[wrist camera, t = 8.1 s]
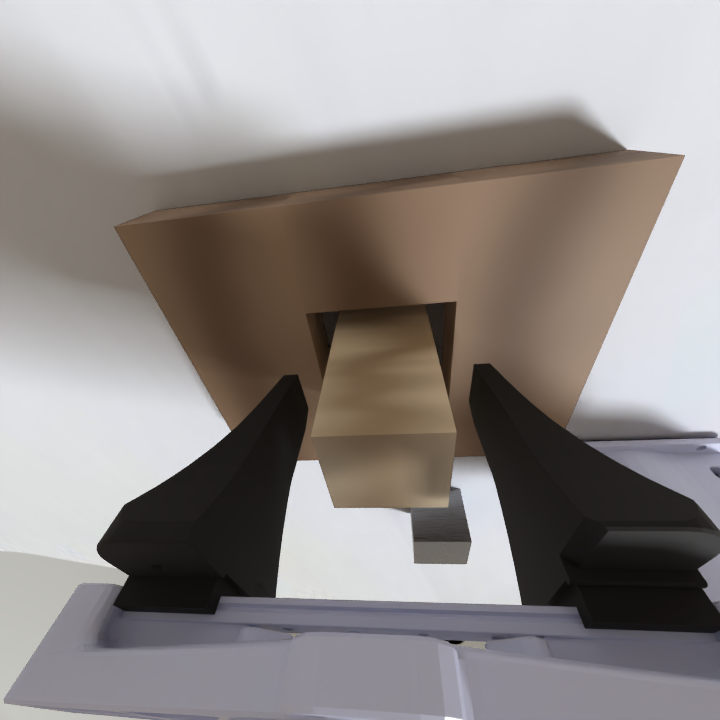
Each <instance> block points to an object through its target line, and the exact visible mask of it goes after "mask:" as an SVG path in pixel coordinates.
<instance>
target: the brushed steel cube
mask: <svg viewBox="0 0 720 720" xmlns="http://www.w3.org/2000/svg"><path fill="white" fill-rule="evenodd" d="M410 514H411V526H412V539H413V552H414V563H417V564H467V560H468V555H469V551H470V547H471V537H470V533H469V528H468V524H467V519H466V514H465V510H464V505H463V501H462V496H461V491H460V489H450V495H449V504H448V507H436V508H410Z"/></svg>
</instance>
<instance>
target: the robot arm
mask: <svg viewBox="0 0 720 720" xmlns="http://www.w3.org/2000/svg"><path fill="white" fill-rule="evenodd" d="M469 404H470V409H471V414H472V418H473V422H474V426H475V428H476V431H477V434H478V437H479V440H480V442H481V445H482V448H483V450H484V453H485V456H486V459H487V461H488V464H489V467H490V470H491V472H492V475H493V478H494V482H495V485H496V489H497V493H498V496H499V500H500V504H501V508H502V512H503V517H504V521H505V525H506V529H507V534H508V538H509V543H510V547H511V552H512V557H513V561H514V566H515V571H516V576H517V581H518V586H519V591H520V596H521V602H522V605H494V604H461V603H427V602H394V601H360V600H327V599H294V598H276V587H277V577H278V567H279V558H280V550H281V542H282V534H283V528H284V521H285V514H286V508H287V502H288V496H289V491H290V485H291V481H292V477H293V473H294V470H295V466H296V463H297V459H298V456H299V452H300V448H301V445H302V441H303V438H304V434H305V430H306V424H307V417H308V409H309V408H308V405H307V402H306V398H305V395H304V392H303V389H302V386H301V383H300V380H299V376H298V374H296V375H284V376H283V377H282V378H281V379H280V380H279V381H278V382H277V384H276V385H275V386H274V387H273V388H272V389H271V390H270V392H269V393H268V394H267V395H266V396H265V397H264V398H263V400H262V401H261V402H260V403H259V404H258V405H257V406H256V407H255V408H254V409H253V410H252V411H251V412H250V413H249V415H248V416H247V417H246V418H245V419H244V420H243V421H242V422H241V423H240V424H239V425H238V426H237V427H236V428H234V429H233V430H232V431H231V432H230V433H229V434H228V435H227V436H226V437H224V438H223V439H222V440H221V441H220V442H219V443H217V444H216V445H215V446H214V447H213V448H211V449H210V450H209V451H207V452H206V453H205V454H203V455H202V456H201V457H199V458H198V459H197V460H195V461H194V462H193V463H191V464H190V465H189V466H187V467H186V468H184V469H183V470H181V471H180V472H178V473H177V474H175V475H174V476H172V477H171V478H169V479H168V480H166V481H165V482H163V483H161V484H160V485H158V486H156V487H155V488H153V489H151V490H149V491H148V492H146V493H144V494H143V495H141V496H139V497H137V498H136V499H134V500H132V501H130V502H128V503H127V504H125V505H124V506H123V508H122V509H121V511H120V512H119V513H118V515H117V516H116V518H115V519H114V521H113V522H112V524H111V525H110V527H109V528H108V530H107V531H106V533H105V534H104V536H103V537H102V539H101V540H100V542H99V543H98V545H97V552H98V554H99V555H100V557H102V558H103V559H104V560H105V561H107V562H108V563H110V564H112V565H113V566H115V567H116V568H118V569H120V570H121V571H123V572H124V573H126V574H127V575H129V577H128V579H127V581H126V583H125V584H124V586H120V585H116V584H101V583H82V584H80V585H78V587H77V588H76V590H75V591H74V593H73V594H72V596H71V598H70V599H69V601H68V602H67V604H66V605H65V607H64V608H63V610H62V611H61V613H60V614H59V616H58V617H57V619H56V620H55V622H54V624H53V625H52V626H51V628H50V629H49V631H48V632H47V634H46V635H45V637H44V639H43V640H42V642H41V643H40V645H39V646H38V648H37V649H36V651H35V652H34V654H33V655H32V657H31V658H30V660H29V661H28V663H27V664H26V666H25V668H24V669H23V670H22V672H21V674H20V675H19V677H18V678H17V680H16V681H15V683H14V684H13V686H12V687H11V689H10V690H9V692H8V693H7V695H6V696H5V698H4V703H6V704H13V705H21V706H28V707H36V708H42V709H50V710H57V711H64V712H72V713H83V714H95V715H108V716H118V717H130V718H141V719H151V720H720V438H700V439H665V440H630V441H594V442H583V441H582V440H580V439H579V438H577V437H576V436H574V435H573V434H571V433H570V432H568V431H567V430H566V429H564V428H563V427H561V426H560V425H559V424H557V423H556V422H554V421H553V420H552V419H551V418H549V417H548V416H547V415H546V414H544V413H543V412H542V411H541V410H539V409H538V408H537V407H536V406H535V405H533V404H532V403H531V402H530V401H529V400H528V399H527V398H526V397H524V396H523V395H522V394H521V393H520V392H519V391H518V390H517V389H516V388H515V387H514V386H513V385H512V384H511V383H509V382H508V381H507V380H506V379H505V378H504V377H503V376H502V375H501V374H500V373H499V372H498V371H497V370H496V369H495V368H494V367H493V366H492V365H491V364H490V363H485V364H474V366H473V373H472V381H471V388H470V396H469ZM289 633H302V634H299V635H296V636H295V637H294V638H293V636H292V635H291V634H289ZM444 640H463V641H486V644H485V648H486V649H479V648H472V647H463V646H456V645H451V644H450V643H449V642H447V641H444Z"/></svg>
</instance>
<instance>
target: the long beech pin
mask: <svg viewBox="0 0 720 720" xmlns="http://www.w3.org/2000/svg"><path fill="white" fill-rule="evenodd" d="M456 435H457V431H456V427H455V423H454V419H453V415H452V411H451V407H450V403H449V399H448V395H447V391H446V387H445V383H444V379H443V375H442V370H441V366H440V362H439V358H438V354H437V350H436V346H435V342H434V338H433V334H432V330H431V326H430V322H429V318H428V314H427V310H426V306H425V304H418V305H405V306H393V307H381V308H369V309H356V310H344V311H339V314H338V319H337V323H336V328H335V332H334V336H333V341H332V345H331V350H330V354H329V358H328V363H327V367H326V372H325V376H324V381H323V385H322V389H321V394H320V398H319V403H318V407H317V411H316V416H315V420H314V425H313V429H312V434H311V439H312V442H313V445H314V448H315V451H316V454H317V457H318V460H319V463H320V466H321V469H322V472H323V475H324V478H325V481H326V484H327V487H328V490H329V493H330V496H331V499H332V502H333V505H334V508H436V507H448V504H449V495H450V487H451V478H452V469H453V461H454V452H455V444H456Z"/></svg>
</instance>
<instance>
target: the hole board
mask: <svg viewBox="0 0 720 720" xmlns="http://www.w3.org/2000/svg"><path fill="white" fill-rule="evenodd" d="M684 157H685V155H677V154H667V153H656V152H646V151H636V150H622V151H615V152H607V153H599V154H592V155H584V156H576V157H568V158H561V159H553V160H545V161H537V162H530V163H522V164H514V165H507V166H499V167H491V168H483V169H476V170H468V171H460V172H452V173H445V174H437V175H429V176H421V177H414V178H406V179H398V180H391V181H383V182H375V183H367V184H360V185H352V186H344V187H336V188H329V189H321V190H313V191H306V192H298V193H290V194H282V195H275V196H267V197H259V198H251V199H244V200H236V201H228V202H220V203H213V204H205V205H197V206H190V207H182V208H174V209H166V210H159V211H154V212H151V213H149V214H146V215H143V216H141V217H138V218H135V219H133V220H130V221H127V222H125V223H122V224H120V225H117V226H114V228H115V230H116V232H117V233H118V235H119V237H120V239H121V240H122V242H123V244H124V246H125V247H126V249H127V251H128V253H129V254H130V256H131V258H132V259H133V261H134V263H135V265H136V266H137V268H138V270H139V272H140V273H141V275H142V277H143V279H144V280H145V282H146V284H147V286H148V287H149V289H150V291H151V293H152V294H153V296H154V298H155V299H156V301H157V303H158V305H159V306H160V308H161V310H162V312H163V313H164V315H165V317H166V319H167V320H168V322H169V324H170V326H171V327H172V329H173V331H174V333H175V334H176V336H177V338H178V340H179V341H180V343H181V345H182V346H183V348H184V350H185V352H186V353H187V355H188V357H189V359H190V360H191V362H192V364H193V366H194V367H195V369H196V371H197V373H198V374H199V376H200V378H201V380H202V381H203V383H204V385H205V386H206V388H207V390H208V392H209V393H210V395H211V397H212V399H213V400H214V402H215V404H216V406H217V407H218V409H219V411H220V413H221V414H222V416H223V418H224V420H225V421H226V423H227V425H228V427H229V428H230V430H231V431H232V430H233V429H234V428H236V427H237V426H238V425H239V424H240V423H241V422H242V421H243V420H244V419H245V418H246V417H247V416H248V415H249V413H250V412H251V411H252V410H253V409H254V408H255V407H256V406H257V405H258V404H259V403H260V402H261V401H262V400H263V398H264V397H265V396H266V395H267V394H268V393H269V392H270V390H271V389H272V388H273V387H274V386H275V385H276V384H277V382H278V381H279V380H280V379H281V378H282V377H283V376H284V375H296V374H298V376H299V380H300V383H301V386H302V389H303V392H304V395H305V398H306V402H307V405H308V408H309V409H308V417H307V424H306V430H305V434H304V438H303V441H302V445H301V448H300V452H299V456H298V459H297V461H301V460H318V457H317V454H316V451H315V448H314V445H313V442H312V439H311V434H312V429H313V425H314V420H315V416H316V411H317V407H318V403H319V398H320V394H321V389H322V385H323V381H324V376H325V372H326V367H327V363H328V358H329V354H330V350H329V345H328V341H327V336H326V332H325V327H324V323H323V318H322V314H321V312H332V311H344V310H356V309H369V308H381V307H393V306H405V305H418V304H430V303H442V302H444V320H443V339H442V358H441V370H442V375H443V379H444V383H445V387H446V391H447V395H448V399H449V403H450V407H451V411H452V415H453V419H454V423H455V427H456V431H457V435H456V444H455V452H454V457H466V456H485V453H484V450H483V448H482V445H481V442H480V440H479V437H478V434H477V431H476V428H475V426H474V422H473V418H472V414H471V409H470V404H469V396H470V388H471V381H472V373H473V366H474V364H485V363H490V364H491V365H492V366H493V367H494V368H495V369H496V370H497V371H498V372H499V373H500V374H501V375H502V376H503V377H504V378H505V379H506V380H507V381H508V382H509V383H511V384H512V385H513V386H514V387H515V388H516V389H517V390H518V391H519V392H520V393H521V394H522V395H523V396H524V397H526V398H527V399H528V400H529V401H530V402H531V403H532V404H533V405H535V406H536V407H537V408H538V409H539V410H541V411H542V412H543V413H544V414H546V415H547V416H548V417H549V418H551V419H552V420H553V421H554V422H556V423H557V424H559V425H560V426H561V427H563V428H564V429H566V426H567V424H568V422H569V419H570V417H571V415H572V413H573V410H574V408H575V406H576V403H577V401H578V399H579V397H580V394H581V392H582V390H583V388H584V385H585V383H586V381H587V378H588V376H589V374H590V372H591V369H592V367H593V365H594V362H595V360H596V358H597V356H598V353H599V351H600V349H601V346H602V344H603V342H604V340H605V337H606V335H607V333H608V330H609V328H610V326H611V324H612V321H613V319H614V317H615V314H616V312H617V310H618V308H619V305H620V303H621V301H622V298H623V296H624V294H625V292H626V289H627V287H628V285H629V282H630V280H631V278H632V276H633V273H634V271H635V269H636V266H637V264H638V262H639V260H640V257H641V255H642V253H643V250H644V248H645V246H646V244H647V241H648V239H649V237H650V234H651V232H652V230H653V228H654V225H655V223H656V221H657V218H658V216H659V214H660V212H661V209H662V207H663V205H664V202H665V200H666V198H667V196H668V193H669V191H670V189H671V186H672V184H673V182H674V180H675V177H676V175H677V173H678V170H679V168H680V166H681V164H682V161H683V159H684Z"/></svg>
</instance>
